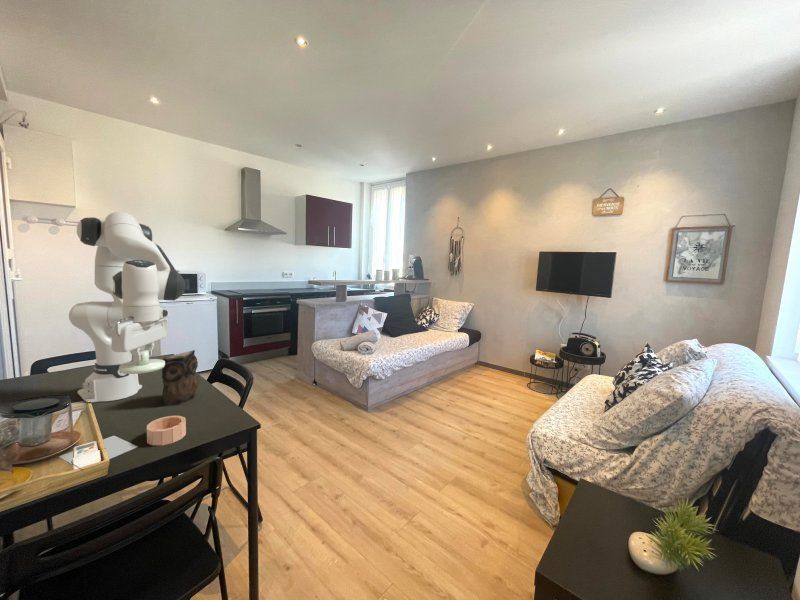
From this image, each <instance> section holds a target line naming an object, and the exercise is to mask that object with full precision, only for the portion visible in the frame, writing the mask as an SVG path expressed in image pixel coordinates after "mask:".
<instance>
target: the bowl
mask: <svg viewBox="0 0 800 600" xmlns="http://www.w3.org/2000/svg"><path fill="white" fill-rule="evenodd" d="M185 436H187V419H186V417H185V416H181V415H167V416H163V417H159V418H157V419H154V420H152V421H151V422H149V423H148V424H146V444H148V445H151V446H166V445H169V444H170V445H171V444H173V443H175V442H178V441H180V440H182V439H183V438H184V437H185Z"/></svg>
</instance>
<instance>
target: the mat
mask: <svg viewBox="0 0 800 600" xmlns="http://www.w3.org/2000/svg"><path fill="white" fill-rule="evenodd" d="M102 440H103V442H104V446H105V448H106V451H107V455H108V457H109V460H110V459H111V460H112V459H113V458H115V457H118V456H120V455H123V454H125V453H127V452H130V451H132V450H134V449H136V448H139V446H138V445H136V444H133V443H131V442H129V441H127V440H124V439H123V438H120V437H118V436H116V435H112V436H109V437H106V438H103V439H102ZM73 451H74V450H73ZM73 451H70V452H66V453H64V454H61V455H60V456H58V458H60V459H61V460H64V461H65V462H67V463H68V464H69V463H70V464H71V465H72V463H71V461H72V459H73Z"/></svg>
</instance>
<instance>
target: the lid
mask: <svg viewBox="0 0 800 600" xmlns="http://www.w3.org/2000/svg"><path fill="white" fill-rule="evenodd" d="M139 352H140V354H141V355H143V357H142V358H143V359H142V360H141V361H139V362H134V361H131V362H127V363H124V364H122V365H120V366H119V372H120V373H124V374H138V375H139V374H147V373H151V372H156V371H160V370H162V368H164V367H165V361H164V360H163V359H160V358H159V359H158V358H150V357H149V351H148V350H145V349H144V350H143V349H142V350H141V349H140V350H139Z"/></svg>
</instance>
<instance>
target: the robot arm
mask: <svg viewBox="0 0 800 600" xmlns="http://www.w3.org/2000/svg"><path fill="white" fill-rule="evenodd" d="M76 234H77V236H78V238H79V241H80V242H81V243H83V245H87V246H91V247H95V246H96V253H95V258H94V285H95V287H96V289H99V290H100V291H102V292H103V293H107V294H108V295H111V297H112V299H113V301H86V302H79V303H76V304H75V305H73V306H72V307H71V308H70V311H69V313H68V318H69V319H68V320H69V322H70V324H72V325H73V326H74V327H75V328H76V329H79V330H81V331H82V332H84V333H85V334H86V335H87V336H88V337H89V338H90V340H91V342H93V343H92V344H93V345H94V351H95V363H94V362H93V363H94V366H93V372H92V373H91V374H90V375H89V376H88V377H86V378H85V381H83V382H82V385H81V386H82V388H81V389H79V390H77V395H78V396H80V397H81V399H82V400H83V401H84V402H85V401H90V402H91V403H97V402H111V401H119V400H122V399H126V398H129V397H131V396H134V395H136V394H137V393H138V392H139V391H140V390H141V389H142V388H143V385H142V384H140V383H139V374H124V373H120V372H119V366H120V365H122V364H124V363H127V362H131V361H134V362H139V361H141V360H142V359H143V358H142V357H143V355H141V354H140V352H139V351H141V347H144V346H145V347H144V350H148V351H149V358H150V357H152V356H153V349H154V347H155V342H157V341H159V340H162V339H165V338H166V337H167V336H168V334H169V318H168V317H169V316H170V311H169V309H166V308H163V307H160V306H161V305H160V304H161V303H160V301H177V299H179V298H181V296H183V295H184V294H185V292H186V291H185V290H186V286H185V285H186V283H185V280H184V278H183V276H182V275H181V273H180V272H179V271H177V269H176V268H175V267H174V265H173V263H172V261H170V259H169V257H168V256H167V255H166V253H165V251H164V250H163V249H162V246H160V245H159V244H156V243H155V242H154V234H153V232H152V229H151V228H150V227H149V226H148V225H146V224H142V223H140V222H138V220H137V219H136V217H134V216H133V215H132V214H129V213H127V212H124V211H114V212H111V213H109V214H108V215H107V216H106V217H105V218H97V217H83V218H82V219H80V221H79V223H77V226H76Z"/></svg>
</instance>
